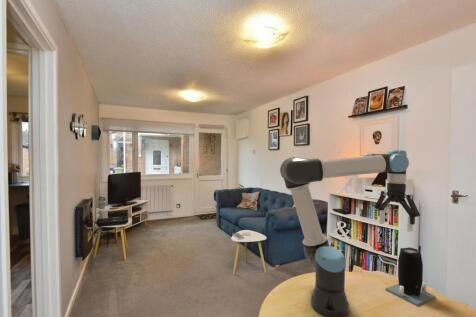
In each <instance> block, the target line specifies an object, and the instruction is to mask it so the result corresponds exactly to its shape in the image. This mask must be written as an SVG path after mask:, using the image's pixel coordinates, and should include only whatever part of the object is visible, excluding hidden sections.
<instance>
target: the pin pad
mask: <svg viewBox="0 0 476 317" xmlns="http://www.w3.org/2000/svg"><path fill="white" fill-rule="evenodd" d="M385 291H386V292H388V293H390V294H392V295H394V296H396V297H398V298H400V299H402V300H404V301H406V302H408V303H410V304H412V305H413V306H416V307H419V306H421V305H424V304H426V303H428V302H431V301H433V300H435V299H437V298H436V297H437V296H436V295H434V294H431V293H429V292H428V291H427V283H426V282H424V281H422V287H421V291H420V295H419V296H418V295H417V294H412V295H407V294H404V287H403V286H400V287H399V283H396V284H394V285H391V286H388V287H385Z"/></svg>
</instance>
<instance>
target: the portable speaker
mask: <svg viewBox="0 0 476 317" xmlns="http://www.w3.org/2000/svg"><path fill="white" fill-rule="evenodd" d="M423 266H424V264H423V258H422V253H421V251H419V250H418V249H416V248H414V247H400V251H399V255H398V260H397V279H398V284H399V287H400V286H403V287H404V294H407V295H412V294H417V295H418V296H419V295H420V291H421V290H422V282H424V281H423V276H424V275H423V273H424V272H423V271H424V267H423Z"/></svg>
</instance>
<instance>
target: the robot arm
mask: <svg viewBox="0 0 476 317" xmlns="http://www.w3.org/2000/svg"><path fill="white" fill-rule="evenodd" d="M407 156H408V154H407V150H403V149H398V150H397V149H396V150H395V149H391V150H388V152H387V153H365V154H363V156H358V157H357V156H355V157H346V158H345V157H344V158H335V159H324V160H322V159H320V158H305V157H304V158H302V157H295V156H293V157H289V158H286V159H285V160H284V161H282V163H281V165H280V168H279V171H280V175H281V177H282V179H283V181H284V183H285V184H284V185H285V187H286V190H288V191H290V193H291V197H292V200H293V203H294V207H295V211H296V213H297V217H298V220H299V224H300V227H301V230H302V234H303V237H304V238H303V240H302V245H303V253H304V257H305V259H306V260H307V262H308V263H309V264H310V265H311V267H312V269H313V270H314V274H315V276H314V277H315V280H314V281H315V283H314V288H313V292H312V294H311V297H310V306H311V307H312V309H313V310H314V311H315V312H317V313H319V314H321V315H322V316H325V317H346V316H348V314H349V312H350V305H349V301H348V298H347V294H346V291H345V284H346V282H345V281H346V280H345V279H346V259H345V256H344V253H343V252H342V251H341V250H339V249H338V248H334V247H332V246H330V243H329V240H328V237H327V235H325V234H323V231H322V228H321V224H320V221H319V217H318V214H317V211H316V207H315V204H314V200H313V197H312V193H311V191H310V187H309V186H310V185H311V183H315V182H316V183H317V182H322V181H323V180H324V179H329V178H338V177H339V178H340V177H349V176H361V175H368V174H378V173H387V177H386V180H387V183H386V190H381V191H380V195H379V197H378V199H377V200H376V203H375V205H374V209H377V210H378V211H377V212H378V214H377V216H378V219H379V220H378V223H379V225H382V224H385V214H386V212H385V208H386V207H387V206H388V205H390V203H391V202H392V203H398V204H399V205H400V206H402V207H403V209H404V210H405V213H407V225H406V226H407V228H406V229H407V230H406V231H407V232H409V233H410V232H413V230H414V225H415V224H416V218H417V217H420V216H421V214H420V212H419V209H418V207H417V205H416V203H415V201H414V195H413V194H406V191H407V184H406V182H407V169H408V167H409V166H410V162H409V158H408V157H407ZM386 196H387V197H386Z"/></svg>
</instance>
